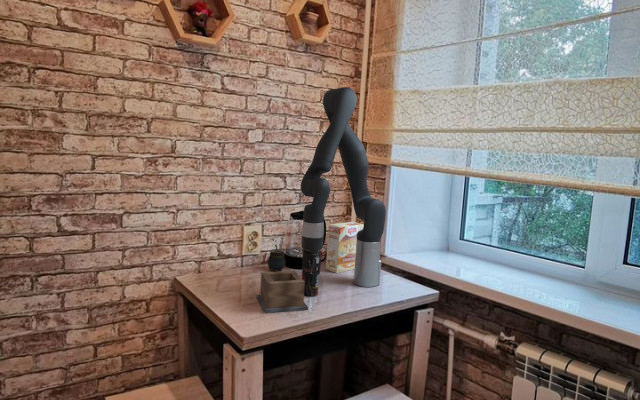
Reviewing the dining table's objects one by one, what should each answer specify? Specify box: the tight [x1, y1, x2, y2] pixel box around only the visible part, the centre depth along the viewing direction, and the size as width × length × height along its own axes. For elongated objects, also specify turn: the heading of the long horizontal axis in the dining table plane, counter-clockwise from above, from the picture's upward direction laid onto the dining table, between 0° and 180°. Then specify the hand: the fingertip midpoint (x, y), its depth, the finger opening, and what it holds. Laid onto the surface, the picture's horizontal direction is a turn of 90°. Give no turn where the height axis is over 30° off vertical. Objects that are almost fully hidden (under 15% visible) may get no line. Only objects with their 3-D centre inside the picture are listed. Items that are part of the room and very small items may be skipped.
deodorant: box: [301, 251, 321, 298], centre depth 152 cm, size 6×6×15 cm
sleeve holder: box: [255, 270, 309, 314], centre depth 141 cm, size 14×14×9 cm
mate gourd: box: [267, 243, 286, 272], centre depth 178 cm, size 7×8×10 cm
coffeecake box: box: [325, 221, 364, 274], centre depth 184 cm, size 15×7×20 cm, turn 132°
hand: (310, 281), depth 152 cm, fingers closed on deodorant, 6 cm apart
